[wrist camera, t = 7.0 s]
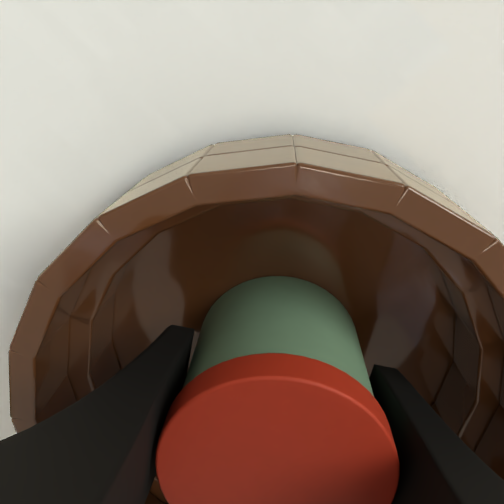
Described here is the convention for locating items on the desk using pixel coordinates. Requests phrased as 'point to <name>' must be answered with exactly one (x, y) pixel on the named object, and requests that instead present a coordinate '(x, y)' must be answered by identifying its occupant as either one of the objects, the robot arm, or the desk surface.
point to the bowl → (276, 264)
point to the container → (277, 406)
